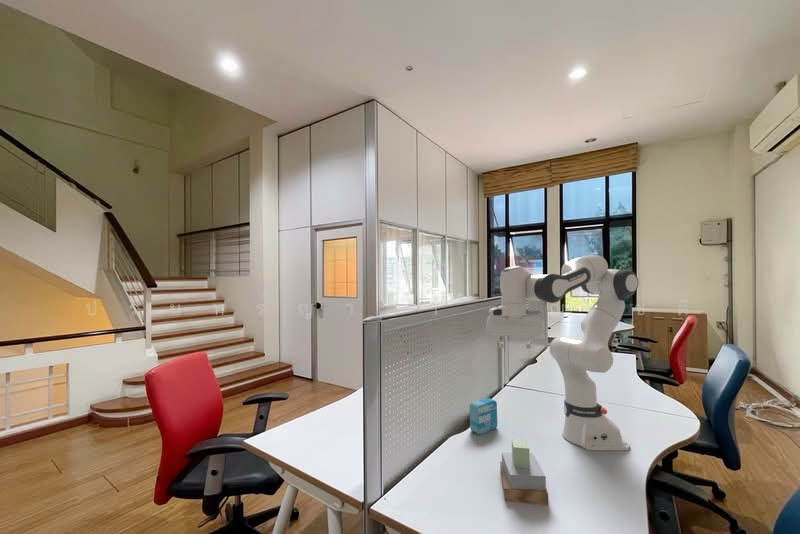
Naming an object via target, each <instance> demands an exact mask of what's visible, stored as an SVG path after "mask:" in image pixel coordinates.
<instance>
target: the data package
mask: <svg viewBox="0 0 800 534" xmlns="http://www.w3.org/2000/svg"><path fill="white" fill-rule="evenodd" d="M469 427H470V429H469V430H471V431H472V432H473V433H475V434H478V435H482V434H485V433H487V432H491V431H493V430H496V428H497V427H498V403H497V401H496V400H495V399H492V398H489V397H484V398H481V399H478V400H475V401H472V402H471V403H470V404H469Z"/></svg>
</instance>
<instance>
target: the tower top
mask: <svg viewBox="0 0 800 534" xmlns="http://www.w3.org/2000/svg"><path fill="white" fill-rule="evenodd" d="M501 462H502V466H503V469H504V471H505V474H506V477H507V480H508V483H509V485H510V488H511V489H531V490H546V489H547V480H546V479H547V478H546V476H547V475H546V474H545V472H544V470H543V469H542V467H541V465H540V464H539V461H538V459H536V456H535V454H534V453H533V452H532V453H531V452H530V468H519V467H514V463H513V459H512V452H501Z"/></svg>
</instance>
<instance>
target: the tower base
mask: <svg viewBox="0 0 800 534" xmlns="http://www.w3.org/2000/svg"><path fill="white" fill-rule="evenodd" d="M499 464H500V466H499V467H500V468H499V469H500V470H499V471H500V478H501V484H502V492H503V498H504V501H507V502H508V501H509V502H515V503H523V504H532V505H540V506H549V505H550V504H549V492H548V489H547V488H546V490H531V489H511V488H510V485H509V483H508V480H507V477H506V474H505V471H504V469H503V466H502V460H501V461H499Z"/></svg>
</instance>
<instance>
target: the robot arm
mask: <svg viewBox="0 0 800 534" xmlns="http://www.w3.org/2000/svg"><path fill="white" fill-rule="evenodd" d="M499 284H500V294H501V299H500V304H499V305H498V306H495V307H491V308H489V309H488V314H489V315H488V317H486V319H487V320H486V326H485V327H486V328H485V333H486V335H487V336H493V337H494V336H495V339H496V340H497V342H498V345H499V348H501V349H504V348H505V347H504V342H503V341H501V340H500V339H501V337H502V336H503V337H508V336H509V337H528V339H529V340H528V342H525V345H526V346H525V347H526V349H529V350H530V349H532V344H533V342H534V340H535V337H543V336H544V335H545V325H544V321H545V314H544V312H542V311H540V310H538V309H536V310H533V309H531V310H529V309H528V310H527V301H539V302H546V303H551V304H555V303H558V302H560V301H561V300H562V299H563V297H565V296H566V295H567V294H568V293H570V292H572V291H574V290H576V289H577V288H580V287H581V289H582V290H583V292H585V293H588V294H591V295H598V299H597V301H596V302H594V303H593V305H592V306H591V307H590V309H589V311H588V312H587V314H585V316H584V318H583V319H582V321H581V322H580V328H581V331H582V332H583V334H584V336H583V337H582V338H581V339H577V338H572V337H568V336H567V337H566V336H565V337H563V336H562V337H555V338H553V339H552V341H551V342H550V344H549V353H550V355H551V357H552V358H553V359H554V360H555V361H556V363H557V365H558V367H559V369H560V372H561V375H562V378H563V379H562V380H563V383H564V395H565V396H564V398H565V399H563V400H564V401H563V409H564V411H563V412H564V415H565V417H564V425H563V429H562V434H561V435H562V437H563V438H564V439H565V440H566V441H568V442H570V443H572V444H574V445H577V446H579V447H581V448H583V449H585V450H587V451H629V450H630V444H629V442H628V440H627V439H626V438H625V437H624V436H623V435H622V433H621V430H620V428H619V426H618V425H617V424H616V423H615V422H614V420H612V419H610V418H609V417H608V416H606V415H607V414H608V410H607V409H606V408H605V407H603V406H602V405H601V404H599V403H598V399H597V398H598V397H597V385H596V383H595V381H594V380H593V379H592V377H590V375H589V374H588V372H590V373H591V372H592V373H599V374H600V373H601V374H602V373H603V374H605V373H607V372H609V370H610V369H612V367H613V364H614V357H613V353H612V351H611V350H610V349H609V340H610V338H611V336H612V334H613V333H614V331H615V329H616V328H617V326H618V324H619V323H620V321H621V319H622V317H623V315H624V312H625V308H626V304H625V301H627V300H629V299H630V298H631V297H632V296H633V295H634V294H635V293H636V291H637V290H638V287H639V278H638V276H637V274H636V273H635V272H634V271H631V270H629V269H628V270H627V269H625V268H624V269H615V268H609V264H608V262H607V260H606V259H605V258H604V257H603V256H601V255H599V254H590V255H589V254H588V255H583V256H579V257H575V258H573V259H570V260H569V261H567V262H565V263H563V265H562V267H561V274H557V273H547V274H533V273H530V272H528V271H527V270H525V269H524V267H523V266H522V265H521V266H520V265H514V266H508V267H504V268H503V269H502V271H501V273H500V283H499Z"/></svg>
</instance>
